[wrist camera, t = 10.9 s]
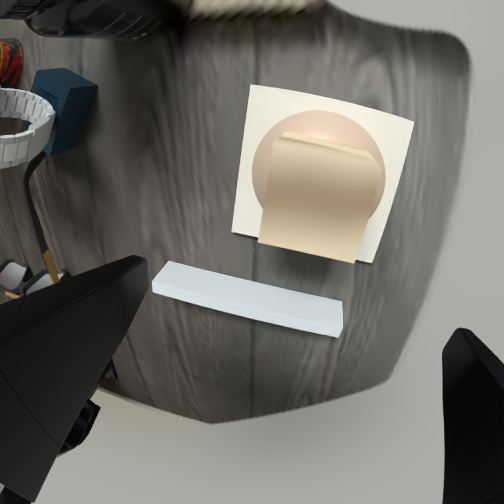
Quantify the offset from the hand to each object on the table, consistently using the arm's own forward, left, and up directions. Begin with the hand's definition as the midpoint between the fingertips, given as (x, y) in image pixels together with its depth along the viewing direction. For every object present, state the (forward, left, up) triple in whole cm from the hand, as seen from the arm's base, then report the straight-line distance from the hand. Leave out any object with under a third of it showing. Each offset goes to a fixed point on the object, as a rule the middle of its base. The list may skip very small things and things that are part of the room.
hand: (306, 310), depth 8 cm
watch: (+3, +20, -13) cm, 24 cm away
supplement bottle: (+11, +13, -13) cm, 22 cm away
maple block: (0, 0, -12) cm, 12 cm away
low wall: (-9, +3, -13) cm, 16 cm away
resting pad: (0, 0, -13) cm, 13 cm away
